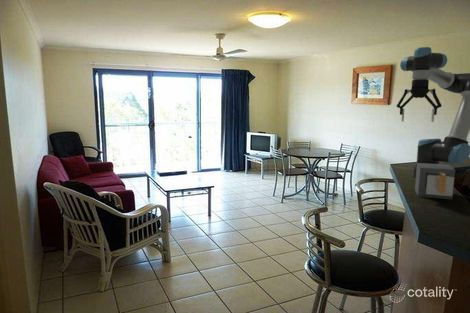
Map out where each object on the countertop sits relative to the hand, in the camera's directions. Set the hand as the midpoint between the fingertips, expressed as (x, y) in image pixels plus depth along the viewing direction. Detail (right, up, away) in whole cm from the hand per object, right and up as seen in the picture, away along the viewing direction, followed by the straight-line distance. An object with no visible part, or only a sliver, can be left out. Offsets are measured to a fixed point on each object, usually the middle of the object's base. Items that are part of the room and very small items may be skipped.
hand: (417, 121), depth 174 cm
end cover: (-3, -35, -22) cm, 41 cm away
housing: (+2, -37, -9) cm, 38 cm away
